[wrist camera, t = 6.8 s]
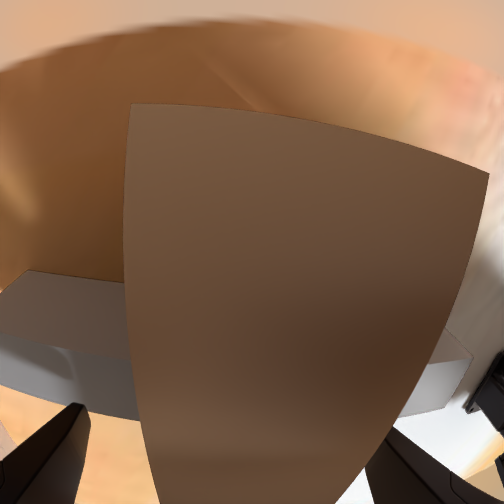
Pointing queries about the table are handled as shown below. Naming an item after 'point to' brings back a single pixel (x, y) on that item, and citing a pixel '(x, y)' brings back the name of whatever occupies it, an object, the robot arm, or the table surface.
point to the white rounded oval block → (5, 442)
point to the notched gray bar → (125, 348)
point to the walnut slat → (281, 295)
